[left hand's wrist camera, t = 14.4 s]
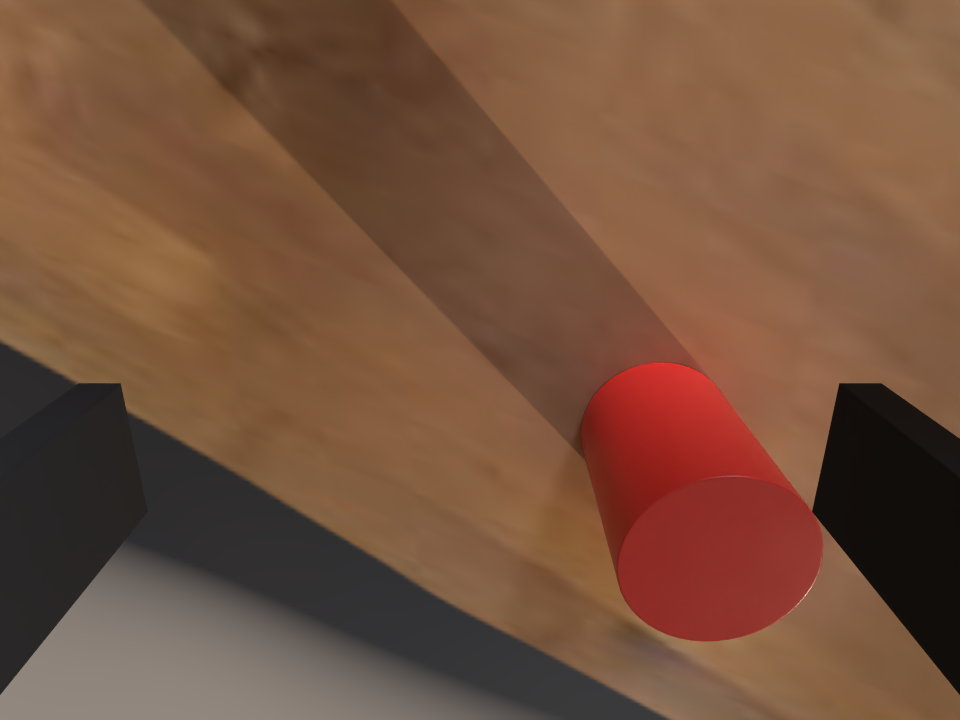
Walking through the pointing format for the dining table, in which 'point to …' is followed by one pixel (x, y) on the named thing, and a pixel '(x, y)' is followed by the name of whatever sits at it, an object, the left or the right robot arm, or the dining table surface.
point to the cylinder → (695, 507)
